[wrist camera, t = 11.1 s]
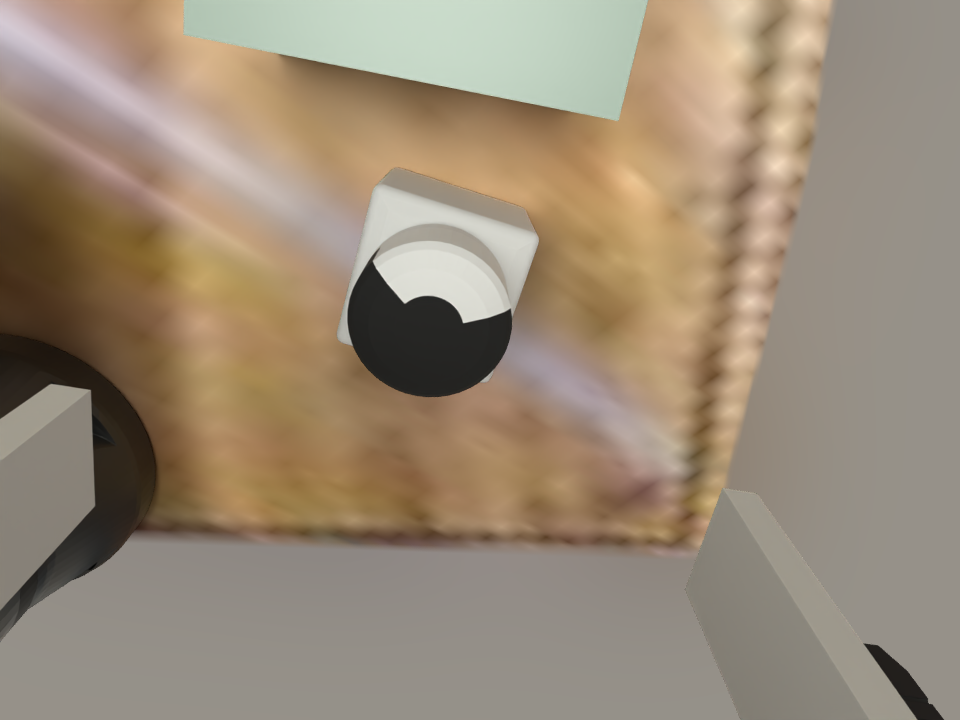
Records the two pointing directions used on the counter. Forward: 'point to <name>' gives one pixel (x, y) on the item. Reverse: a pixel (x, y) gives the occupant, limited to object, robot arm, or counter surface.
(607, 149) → the counter surface
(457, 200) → the medicine bottle
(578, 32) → the lid
